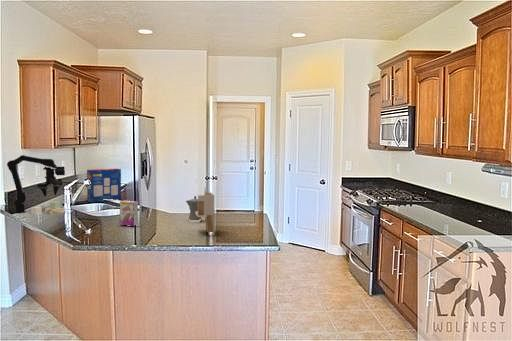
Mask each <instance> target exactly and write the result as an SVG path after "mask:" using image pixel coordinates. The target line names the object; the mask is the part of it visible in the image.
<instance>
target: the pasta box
mask: <svg viewBox="0 0 512 341" xmlns="http://www.w3.org/2000/svg"><path fill="white" fill-rule="evenodd" d="M86 177H87V178H86V180H87V179H89V180H90V182H91V185H89V186H86V188H87V189H86V191H87V192H86V194H87V195H86V197H87V199H86V200H87V202H90V203H95V202H96V201H98V202H101V201H100V200H103V199H113V200H112V201H117V200H122V169H121V168H100V169H94V168H93V169H87V170H86ZM96 203H97V202H96Z"/></svg>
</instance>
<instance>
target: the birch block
mask: <svg viewBox="0 0 512 341" xmlns="http://www.w3.org/2000/svg"><path fill="white" fill-rule="evenodd" d="M64 208H65V207H61V208H59V209H50V207H47V208H44V214H45V215H52V216H56V215H62V214H65V213H64Z"/></svg>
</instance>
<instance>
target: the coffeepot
mask: <svg viewBox="0 0 512 341" xmlns="http://www.w3.org/2000/svg"><path fill="white" fill-rule="evenodd" d="M185 202H186V203H187V205H188V206H189V208H188V209H189V216H188V220H189V219H190V220H199V219H201V220H202V217H198V216H197V215H196V213H195V211H198V198H197V195H196V196H194V197H193V199H188V200H185Z"/></svg>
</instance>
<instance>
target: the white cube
mask: <svg viewBox="0 0 512 341" xmlns="http://www.w3.org/2000/svg"><path fill="white" fill-rule="evenodd" d="M42 210H43V208H42V206H32V207H30V215H35V216H36V215H41V214H43V213H42V212H43V211H42Z"/></svg>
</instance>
